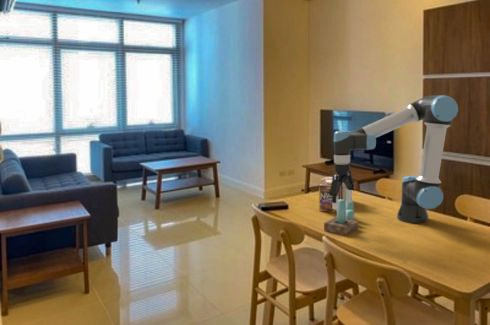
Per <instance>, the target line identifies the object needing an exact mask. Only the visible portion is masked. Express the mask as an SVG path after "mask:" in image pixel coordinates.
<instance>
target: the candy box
mask: <svg viewBox="0 0 490 325" xmlns="http://www.w3.org/2000/svg"><path fill="white" fill-rule="evenodd" d="M318 188H319V189H318V192H319V193H318V211H320V212H328V213H335V212H337V210H336V209H332V196H330V195H329V193H330V189H331V185H328V184H325V183H320V184H319V185H318Z"/></svg>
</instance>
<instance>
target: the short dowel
mask: <svg viewBox="0 0 490 325" xmlns="http://www.w3.org/2000/svg"><path fill="white" fill-rule="evenodd" d="M345 219H349V220H354V221H355V210H354V209H353V210H346V209H345Z"/></svg>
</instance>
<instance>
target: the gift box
mask: <svg viewBox="0 0 490 325" xmlns="http://www.w3.org/2000/svg"><path fill="white" fill-rule="evenodd" d="M336 174H337V173H334V175H336ZM332 180H333V176H325V177H323V178H322V179H320V180H319V181H320V182H322V181H324V184H328V185H331V184H332ZM346 190H347V187H346V185H345V184H344V182H343V183H342V184H341V186H340V189H339V191H338V194H337V196H338V200H339V199H343V200H346Z"/></svg>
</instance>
